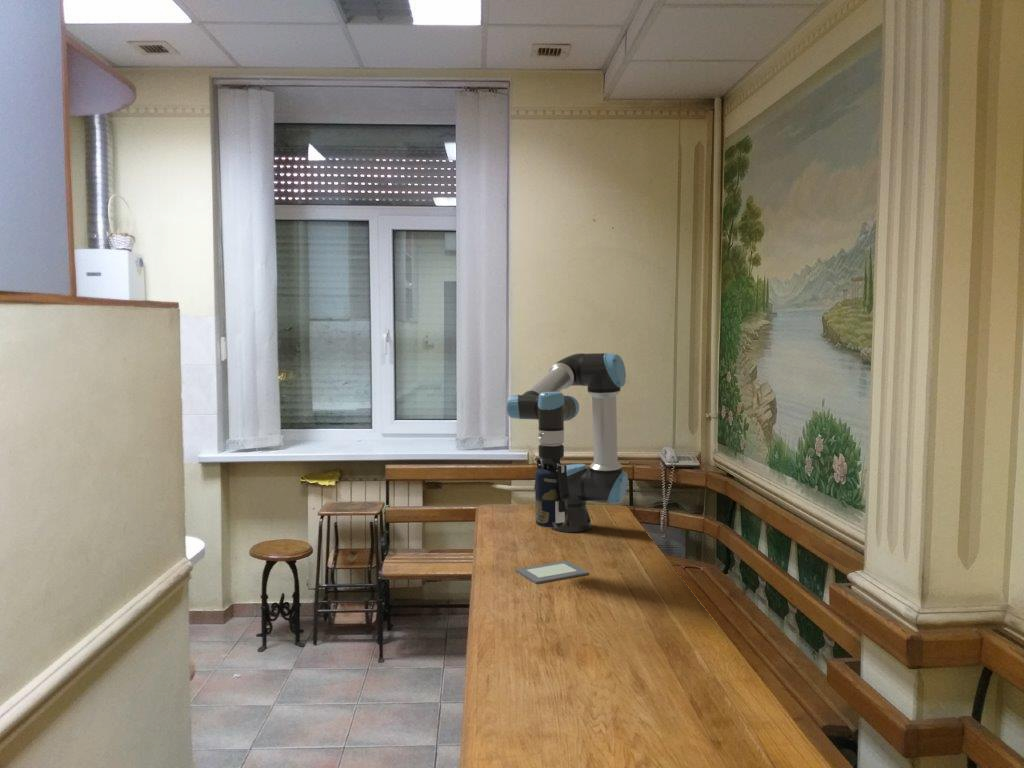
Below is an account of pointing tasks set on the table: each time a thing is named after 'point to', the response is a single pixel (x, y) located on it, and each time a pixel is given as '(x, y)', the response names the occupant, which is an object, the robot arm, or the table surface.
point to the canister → (546, 498)
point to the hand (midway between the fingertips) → (551, 518)
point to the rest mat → (551, 571)
